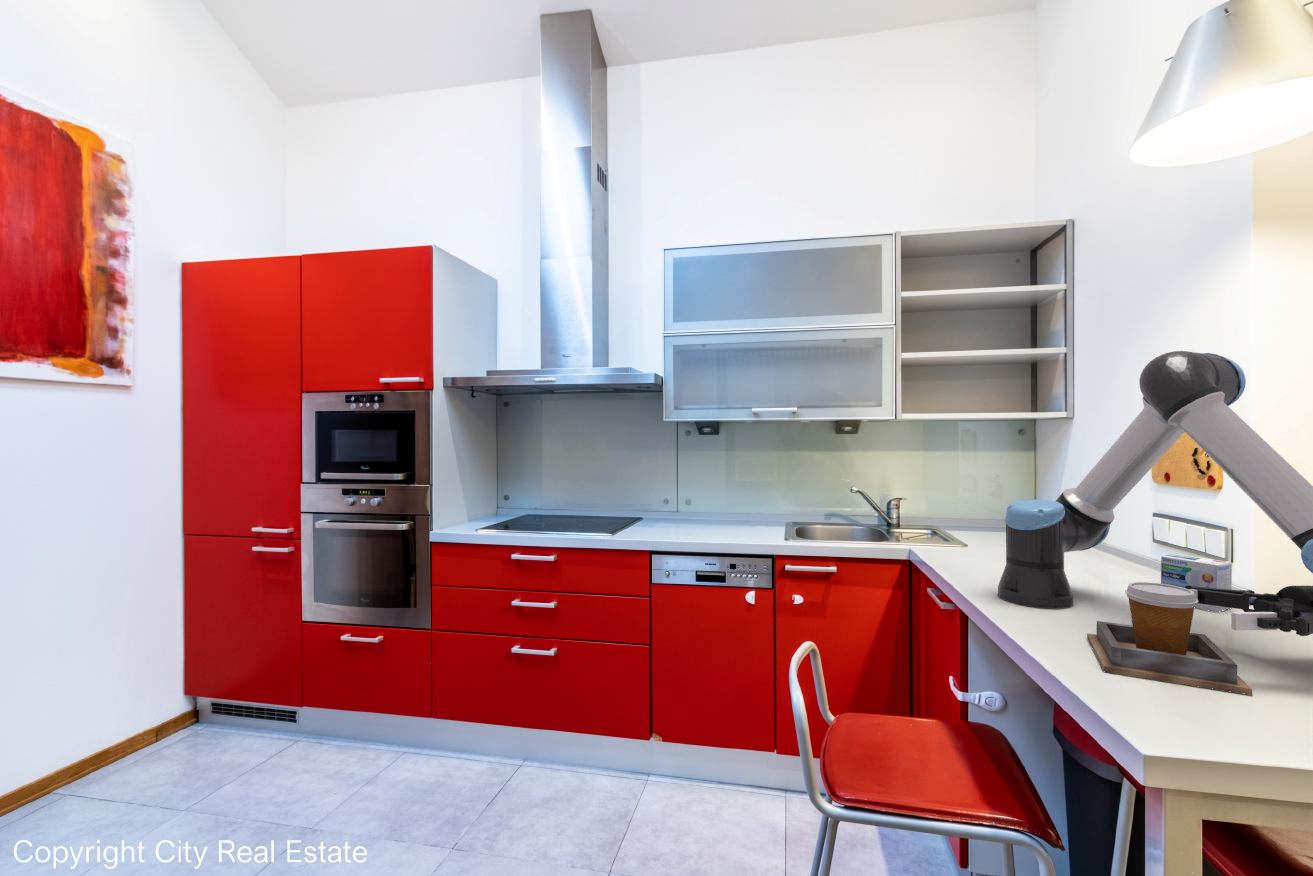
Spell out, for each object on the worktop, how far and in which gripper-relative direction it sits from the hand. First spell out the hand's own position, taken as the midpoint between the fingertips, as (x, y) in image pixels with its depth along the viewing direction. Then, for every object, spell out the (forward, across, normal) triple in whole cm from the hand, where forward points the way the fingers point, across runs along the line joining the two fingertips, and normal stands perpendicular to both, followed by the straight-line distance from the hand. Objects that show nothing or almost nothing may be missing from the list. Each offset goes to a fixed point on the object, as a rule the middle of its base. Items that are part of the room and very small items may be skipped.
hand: (1194, 608), depth 99 cm
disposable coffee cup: (+5, 0, -9) cm, 10 cm away
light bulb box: (-32, +34, -10) cm, 48 cm away
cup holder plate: (+6, 0, -10) cm, 11 cm away
